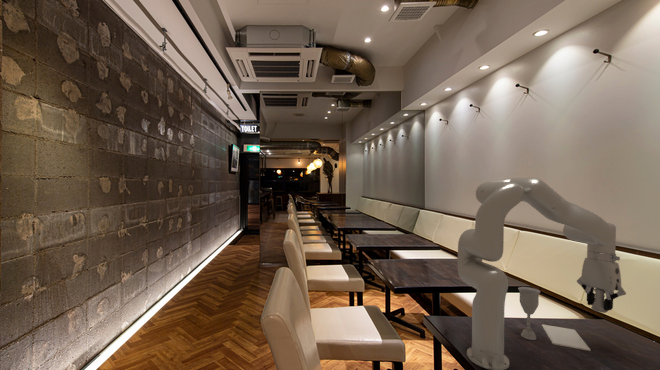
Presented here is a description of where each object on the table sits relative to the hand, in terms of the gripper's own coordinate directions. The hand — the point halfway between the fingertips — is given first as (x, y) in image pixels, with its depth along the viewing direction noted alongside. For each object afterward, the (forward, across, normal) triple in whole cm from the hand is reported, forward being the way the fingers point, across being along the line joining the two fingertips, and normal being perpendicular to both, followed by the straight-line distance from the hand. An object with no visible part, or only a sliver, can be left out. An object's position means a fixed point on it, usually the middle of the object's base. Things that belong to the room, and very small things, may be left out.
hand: (599, 306), depth 107 cm
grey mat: (+15, +9, +3) cm, 18 cm away
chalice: (+16, +15, +15) cm, 26 cm away
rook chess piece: (+2, 0, 0) cm, 2 cm away
